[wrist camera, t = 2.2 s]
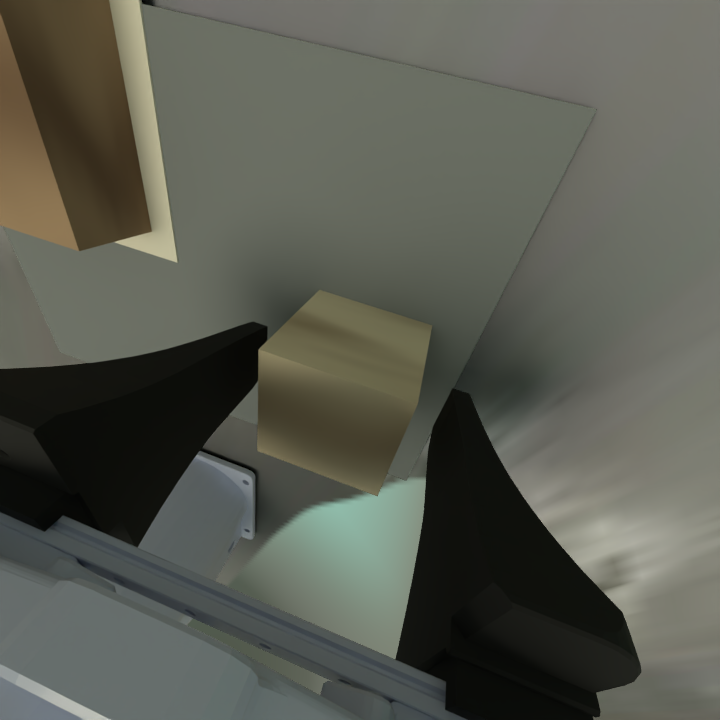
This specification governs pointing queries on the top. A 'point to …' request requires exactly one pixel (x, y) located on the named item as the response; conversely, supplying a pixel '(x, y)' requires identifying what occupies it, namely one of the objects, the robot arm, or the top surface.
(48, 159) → the brown square wooden block
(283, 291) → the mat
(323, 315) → the maple cube
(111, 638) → the robot arm
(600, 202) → the top surface
